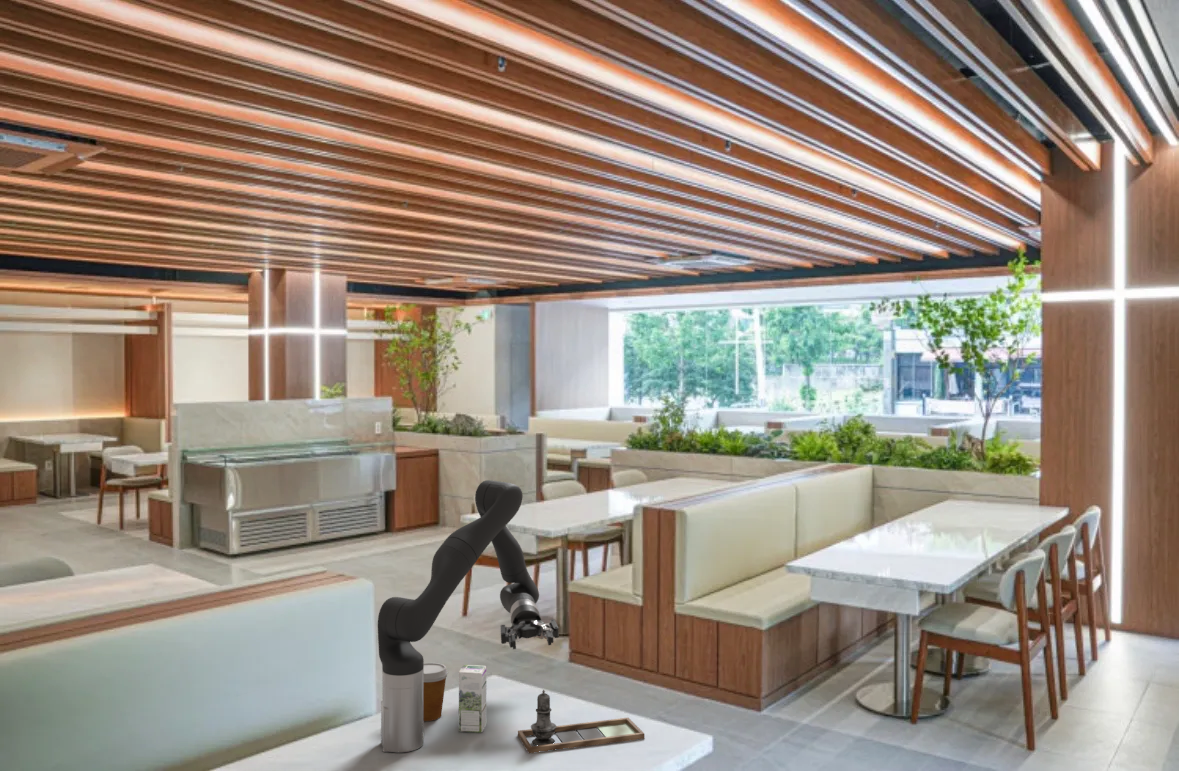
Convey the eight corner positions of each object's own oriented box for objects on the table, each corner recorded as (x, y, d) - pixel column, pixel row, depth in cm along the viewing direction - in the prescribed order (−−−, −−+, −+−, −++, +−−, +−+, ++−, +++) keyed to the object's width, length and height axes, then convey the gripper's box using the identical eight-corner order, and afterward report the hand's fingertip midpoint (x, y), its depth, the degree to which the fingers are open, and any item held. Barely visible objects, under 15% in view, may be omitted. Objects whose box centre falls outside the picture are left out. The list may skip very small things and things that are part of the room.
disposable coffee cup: (444, 724, 216) (444, 674, 216) (404, 723, 216) (405, 674, 216) (451, 709, 226) (451, 662, 226) (413, 709, 226) (413, 661, 226)
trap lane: (528, 753, 199) (529, 748, 199) (517, 735, 209) (517, 730, 209) (644, 738, 207) (644, 733, 207) (628, 722, 217) (628, 717, 217)
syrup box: (487, 724, 216) (487, 664, 216) (481, 733, 210) (481, 672, 210) (463, 723, 216) (464, 663, 217) (457, 732, 211) (458, 671, 211)
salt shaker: (552, 748, 202) (552, 695, 202) (527, 746, 203) (527, 693, 203) (559, 738, 208) (559, 686, 208) (534, 736, 209) (534, 684, 209)
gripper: (496, 606, 228) (501, 631, 212) (552, 601, 231) (560, 625, 215) (498, 634, 229) (503, 661, 213) (553, 628, 232) (562, 655, 216)
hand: (532, 643), depth 214 cm, fingers open, 8 cm apart
